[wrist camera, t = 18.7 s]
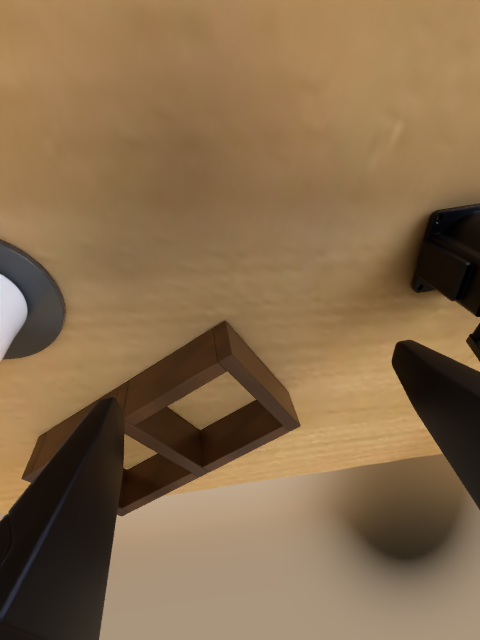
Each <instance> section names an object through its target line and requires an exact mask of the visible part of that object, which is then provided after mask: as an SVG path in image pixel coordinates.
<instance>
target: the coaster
mask: <svg viewBox="0 0 480 640" xmlns="http://www.w3.org/2000/svg"><path fill="white" fill-rule="evenodd" d="M0 274H1V275H3V276H5V277H6V278H8V279H9V280H10V281H11V282H13V283H14V284H15V285H16V286H17V287H18V289H19V290H20V291H21V293H22V294H23V296H24V298H25V300H26V303H27V310H28V312H27V318H26V321H25V323H24V325H23V326H22V328H21V329H20V331H19V332H18V334H17V335H16V336H15V338H14V339H13V341H12V343H11V345H10V347H9V349H8V350H7V352H6V354H5V356H4V358H3V359H15V358H22V357H26V356H30V355H33V354H35V353H38V352H40V351H42V350H44V349H45V348H46V347H48V346H49V345H50V344H51V343H52V342H54V341H55V339H56V338H57V336H58V335H59V333H60V331H61V329H62V327H63V324H64V321H65V304H64V301H63V297H62V295H61V292H60V290H59V288H58V286H57V285H56V283H55V281H54V280H53V279H52V277H51V276H50V275H49V274H48V272H47V271H46V270H45V269H44V268H43V267H42V266H41V265H40V264H39V263H37V262H36V261H35V260H34V259H32V258H31V257H30V256H28V255H27V254H26V253H24V252H23V251H21V250H19V249H18V248H16V247H14V246H12V245H10V244H8V243H6V242H4V241H2V240H0Z"/></svg>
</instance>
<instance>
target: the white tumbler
mask: <svg viewBox="0 0 480 640" xmlns="http://www.w3.org/2000/svg"><path fill="white" fill-rule="evenodd" d="M27 312H28V310H27V303H26V300H25V298H24V296H23V294H22V293H21V291H20V290H19V289H18V287H17V286H16V285H15V284H14V283H13V282H11V281H10V280H9V279H8V278H6V277H5V276H3V275H1V274H0V364H1V362H2V360H3V358H4V356H5V354H6V352H7V350H8V349H9V347H10V345H11V343H12V341H13V339H14V338H15V336H16V335H17V334H18V332H19V331H20V329H21V328H22V326H23V325H24V323H25V321H26V318H27Z"/></svg>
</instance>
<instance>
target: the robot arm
mask: <svg viewBox="0 0 480 640" xmlns="http://www.w3.org/2000/svg"><path fill="white" fill-rule="evenodd" d="M437 217H439V218H438V220H436V219H437ZM419 285H420V286H419ZM418 286H419V287H418ZM411 288H412V290H413V291H415V292H416V293H420V292H426V291H431V290H437V291H439V292H440V293H441V294H443V295H444V296H445V297H447V298H448V299H449V300H451V301H456V302H457V303H459V304H460V305H461V306H463V307H464V308H465V309H467V310H468V311H470V312H471V313H472V314H474V315H475V316H476V317H480V204H473V205H467V206H461V207H455V208H449V209H443V210H437V211H435V212H433V213H432V214H431V216H430V218H429V221H428V225H427V229H426V232H425V236H424V240H423V244H422V248H421V251H420V255H419V259H418V263H417V267H416V271H415V274H414V278H413V282H412V286H411ZM466 342H467V344H468V345H469V347H470V348H471V349H472V351H473V352H474V354H475V355H476V357H477V358H478V360H479V361H480V323H479V325H478V326H477V328H476V329H475V330H474V332H473V333H472V334H470V335H469V337H468V338H467V340H466ZM392 366H393V368H394V370H395V372H396V374H397V376H398V378H399V380H400V382H401V384H402V386H403V388H404V390H405V392H406V394H407V396H408V398H409V400H410V402H411V404H412V405H413V407H414V409H415V411H416V412H417V414H418V415H419V417H420V418H421V420H422V422H423V423H424V425H425V426H426V428H427V429H428V431H429V432H430V434H431V435H432V437H433V438H434V440H435V442H436V443H437V445H438V446H439V448H440V449H441V451H442V452H443V454H444V455H445V457H446V458H447V460H448V462H449V463H450V465H451V466H452V468H453V469H454V471H455V472H456V474H457V475H458V477H459V478H460V480H461V482H462V483H463V485H464V486H465V488H466V489H467V491H468V492H469V494H470V495H471V497H472V498H473V500H474V502H475V503H476V505H477V506H478V508H479V509H480V372H479V371H476V370H474V369H472V368H470V367H468V366H466V365H464V364H462V363H459V362H457V361H455V360H453V359H451V358H449V357H447V356H445V355H442V354H440V353H438V352H436V351H434V350H432V349H430V348H427V347H425V346H423V345H421V344H419V343H417V342H415V341H412V340H405V341H399V342H397V344H396V346H395V349H394V353H393V357H392ZM124 423H125V419H124V413H123V411H122V409H121V407H120V405H119V404H118V402H117V400H116V398H115V397H113V396H111V397H105V398H101V399H99V400H98V401H97V402H96V404H95V405H94V406H93V407H92V409H91V410H90V411H89V412H88V414H87V415H86V416H85V417H84V419H83V420H82V421H81V422H80V423H79V425H78V426H77V427H76V428H75V430H74V431H73V432H72V433H71V435H70V436H69V437H68V438H67V440H66V441H65V442H64V443H63V445H62V446H61V447H60V448H59V449H58V451H57V452H56V453H55V454H54V456H53V457H52V458H51V459H50V461H49V462H48V463H47V464H46V466H45V467H44V468H43V469H42V471H41V472H40V473H39V474H38V475H37V477H36V478H35V479H34V480H33V482H32V483H31V484H30V485H29V487H28V488H27V489H26V490H25V492H24V493H23V494H22V495H21V497H20V498H19V499H18V500H17V501H16V503H15V504H14V505H13V506H12V508H11V509H10V510H9V512H8V514H6V515H5V516H4V517H3V519H2V520H1V521H0V640H99V635H100V628H101V620H102V614H103V607H104V600H105V593H106V586H107V579H108V572H109V565H110V558H111V550H112V544H113V537H114V530H115V523H116V516H117V509H118V502H119V495H120V488H121V481H122V473H123V460H124Z"/></svg>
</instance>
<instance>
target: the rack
mask: <svg viewBox="0 0 480 640" xmlns="http://www.w3.org/2000/svg"><path fill="white" fill-rule="evenodd" d="M226 371H228V372H229V373H230V374H231V375H232V376H233V377H234V378H235V379H236V380H237V381H238V382H239V383H240V384H241V385H242V386H243V387H244V388H245V389H246V390H247V391H248V392H249V393H250V394H251V395H252V396H253V397H254V398H255V399H256V401H254V402H253V403H251V404H249V405H247V406H245V407H243V408H242V409H240V410H238V411H236V412H234V413H232V414H230V415H229V416H227V417H225V418H223V419H221V420H219V421H218V422H216V423H214V424H212V425H210V426H208V427H207V428H205V429H203V430H201V431H199V430H198V429H196V428H195V427H194V426H192V425H191V424H189V423H188V422H187V421H185V420H184V419H182V418H181V417H180V416H178V415H177V414H175V413H174V412H173V411H171V410H170V409H168V408H167V407H166V406H168V405H170V404H172V403H173V402H175V401H177V400H179V399H180V398H182V397H184V396H185V395H187V394H189V393H191V392H192V391H194V390H196V389H197V388H199V387H201V386H203V385H204V384H206V383H208V382H209V381H211V380H213V379H215V378H216V377H218V376H220V375H222V374H223V373H225V372H226ZM111 396H113V397H115V398H116V400H117V402H118V404H119V405H120V407H121V409H122V411H123V413H124V419H125V423H124V434H126V435H128V436H130V437H131V438H133V439H135V440H136V441H138V442H140V443H142V444H143V445H145V446H147V447H149V448H150V449H152V450H154V451H155V452H157V453H159V454H157V455H155V456H154V457H152V458H150V459H148V460H146V461H144V462H142V463H141V464H139V465H137V466H135V467H133V468H131V469H130V470H128V471H127V470H125V469H123V473H122V481H121V488H120V495H119V502H118V509H117V515H119V516H124V515H126V514H127V513H129V512H131V511H133V510H135V509H137V508H139V507H141V506H143V505H145V504H147V503H149V502H151V501H153V500H155V499H157V498H159V497H161V496H163V495H165V494H167V493H169V492H171V491H173V490H175V489H177V488H179V487H181V486H183V485H185V484H187V483H189V482H191V481H193V480H195V479H197V478H199V477H201V476H203V475H205V474H207V473H209V472H211V471H213V470H215V469H217V468H219V467H221V466H223V465H225V464H227V463H229V462H231V461H233V460H235V459H237V458H239V457H241V456H243V455H245V454H246V453H248V452H250V451H252V450H254V449H256V448H258V447H260V446H262V445H264V444H266V443H268V442H270V441H272V440H274V439H276V438H278V437H280V436H282V435H284V434H286V433H288V432H289V431H292V430H294V429H296V428H298V427H300V423H299V420H298V417H297V414H296V412H295V409H294V406H293V403H292V401H291V398H290V395H289V392H288V391H287V390H286V389H285V388H284V387H283V385H282V384H281V383H280V382H279V381H278V380H277V379H276V377H275V376H274V375H273V374H272V373H271V372H270V371H269V370H268V368H267V367H266V366H265V365H264V364H263V363H262V362H261V360H260V359H259V358H258V357H257V356H256V355H255V354H254V353H253V351H252V350H251V349H250V348H249V347H248V346H247V345H246V343H245V342H244V341H243V340H242V339H241V338H240V337H239V336H238V334H237V333H236V332H235V331H234V330H233V329H232V328H231V326H230V325H229V324H228V323H227V322H226V321H224V322H222V323H221V324H219V325H217V326H216V327H214V328H213V329H211V330H209V331H208V332H206V333H205V334H203V335H201V336H200V337H198V338H197V339H195V340H193V341H192V342H190V343H189V344H187V345H185V346H184V347H182V348H181V349H179V350H177V351H176V352H174V353H173V354H171V355H169V356H168V357H166V358H165V359H163V360H161V361H160V362H158V363H157V364H155V365H153V366H152V367H150V368H149V369H147V370H145V371H144V372H142V373H141V374H139V375H137V376H136V377H134V378H133V379H131V380H130V381H128V382H126V383H125V384H123V385H121V386H120V387H118V388H116V389H115V390H113V391H112V392H110V393H108V394H107V395H105V396H104V397H102V398H105V397H111ZM100 399H101V398H100ZM97 401H98V400H97ZM97 401H96V402H97ZM96 402H94V403H92V404H91V405H89V406H88V407H86V408H84V409H83V410H81V411H80V412H78V413H76V414H75V415H73V416H72V417H70V418H68V419H67V420H65V421H64V422H62V423H60V424H59V425H57V426H56V427H54V428H52V429H51V430H49V431H48V432H46V433H45V434H43V435H41V436H40V437H39V438H38V440H37V443H36V445H35V448H34V450H33V452H32V455H31V457H30V459H29V462H28V464H27V467H26V469H25V471H24V474H23V476H22V479H23V480H26V481H28V482H31V483H32V482H33V480H34V479H35V478H36V477H37V475H38V474H39V473H40V472H41V471H42V469H43V468H44V467H45V466H46V464H47V463H48V462H49V461H50V459H51V458H52V457H53V456H54V454H55V453H56V452H57V451H58V449H59V448H60V447H61V446H62V445H63V443H64V442H65V441H66V440H67V438H68V437H69V436H70V435H71V433H72V432H73V431H74V430H75V428H76V427H77V426H78V425H79V423H80V422H81V421H82V420H83V419H84V417H85V416H86V415H87V414H88V412H89V411H90V410H91V409H92V407H93V406H94V405H95V404H96Z"/></svg>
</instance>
